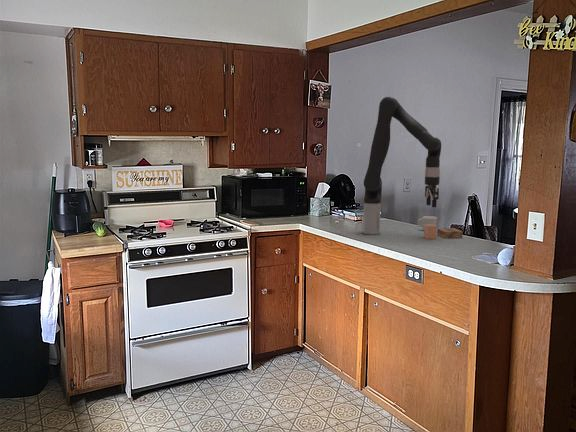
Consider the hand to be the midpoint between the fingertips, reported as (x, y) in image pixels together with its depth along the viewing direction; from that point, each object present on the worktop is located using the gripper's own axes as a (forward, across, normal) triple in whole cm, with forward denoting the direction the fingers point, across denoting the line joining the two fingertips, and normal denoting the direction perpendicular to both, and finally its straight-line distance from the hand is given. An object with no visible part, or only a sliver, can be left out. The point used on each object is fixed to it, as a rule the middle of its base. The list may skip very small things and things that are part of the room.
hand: (431, 206), depth 286 cm
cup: (+17, -22, +6) cm, 29 cm away
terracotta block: (+17, 0, 0) cm, 17 cm away
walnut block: (+18, -3, +12) cm, 21 cm away
